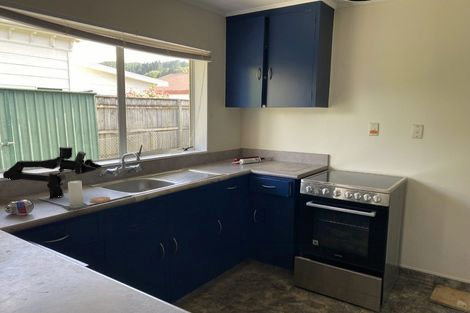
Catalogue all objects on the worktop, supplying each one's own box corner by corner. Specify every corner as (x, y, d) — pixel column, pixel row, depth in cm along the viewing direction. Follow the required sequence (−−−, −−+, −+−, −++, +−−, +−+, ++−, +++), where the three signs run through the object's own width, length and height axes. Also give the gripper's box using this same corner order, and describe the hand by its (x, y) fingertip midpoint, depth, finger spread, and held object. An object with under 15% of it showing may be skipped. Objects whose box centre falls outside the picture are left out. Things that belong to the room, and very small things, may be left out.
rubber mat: (61, 207, 173) (61, 207, 173) (83, 203, 181) (83, 202, 181) (69, 212, 165) (69, 211, 165) (91, 207, 173) (91, 206, 173)
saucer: (89, 204, 179) (88, 202, 179) (92, 199, 189) (92, 197, 189) (109, 202, 181) (108, 200, 181) (111, 198, 191) (111, 196, 191)
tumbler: (68, 209, 169) (66, 183, 168) (71, 205, 176) (69, 181, 174) (82, 208, 171) (80, 182, 169) (84, 204, 177) (82, 180, 175)
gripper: (65, 153, 186) (94, 156, 187) (78, 149, 205) (104, 152, 206) (64, 173, 188) (93, 175, 189) (77, 167, 206) (103, 170, 207)
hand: (98, 167), depth 198 cm, fingers open, 9 cm apart
